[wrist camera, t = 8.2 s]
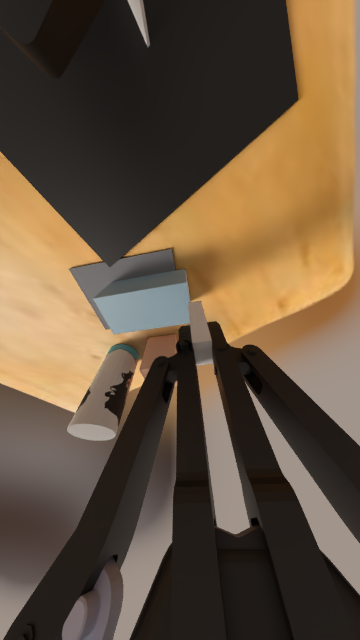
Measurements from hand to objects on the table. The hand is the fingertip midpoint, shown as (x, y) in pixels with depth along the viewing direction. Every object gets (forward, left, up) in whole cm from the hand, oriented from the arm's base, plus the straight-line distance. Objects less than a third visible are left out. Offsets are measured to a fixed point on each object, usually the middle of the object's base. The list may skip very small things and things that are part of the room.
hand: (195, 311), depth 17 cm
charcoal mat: (-10, 0, -8) cm, 13 cm away
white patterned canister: (-17, -14, -9) cm, 24 cm away
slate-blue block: (0, 0, -5) cm, 5 cm away
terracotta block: (-7, -13, -9) cm, 17 cm away
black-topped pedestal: (-6, +23, -8) cm, 26 cm away
